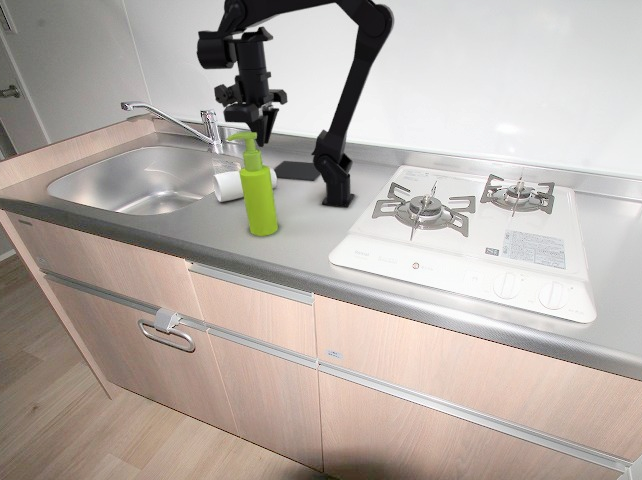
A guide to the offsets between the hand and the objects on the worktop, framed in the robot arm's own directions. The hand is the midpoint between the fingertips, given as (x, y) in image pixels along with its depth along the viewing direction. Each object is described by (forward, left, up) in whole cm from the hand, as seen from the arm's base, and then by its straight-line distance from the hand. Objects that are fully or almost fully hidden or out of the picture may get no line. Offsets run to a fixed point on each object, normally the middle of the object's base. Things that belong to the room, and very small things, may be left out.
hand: (263, 145), depth 83 cm
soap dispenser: (-15, -5, -13) cm, 21 cm away
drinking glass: (+6, +2, -10) cm, 12 cm away
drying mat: (+18, 0, -13) cm, 22 cm away
